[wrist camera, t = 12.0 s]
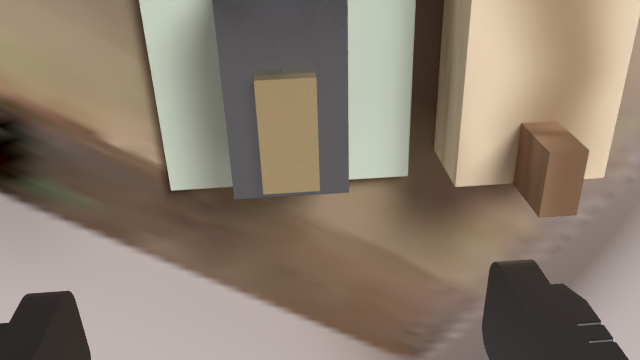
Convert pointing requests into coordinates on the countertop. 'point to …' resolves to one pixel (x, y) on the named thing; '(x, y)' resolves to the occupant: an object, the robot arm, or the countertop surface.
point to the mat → (207, 99)
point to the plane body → (532, 94)
